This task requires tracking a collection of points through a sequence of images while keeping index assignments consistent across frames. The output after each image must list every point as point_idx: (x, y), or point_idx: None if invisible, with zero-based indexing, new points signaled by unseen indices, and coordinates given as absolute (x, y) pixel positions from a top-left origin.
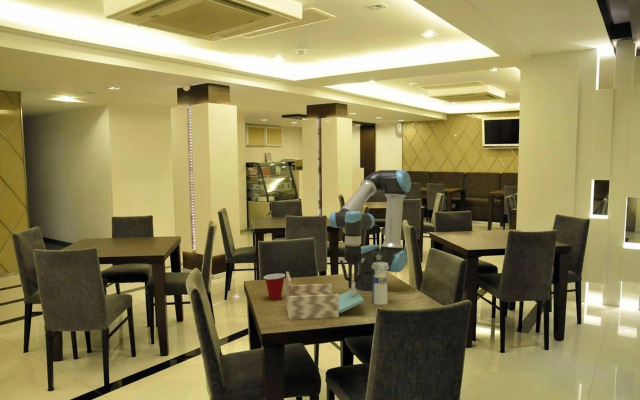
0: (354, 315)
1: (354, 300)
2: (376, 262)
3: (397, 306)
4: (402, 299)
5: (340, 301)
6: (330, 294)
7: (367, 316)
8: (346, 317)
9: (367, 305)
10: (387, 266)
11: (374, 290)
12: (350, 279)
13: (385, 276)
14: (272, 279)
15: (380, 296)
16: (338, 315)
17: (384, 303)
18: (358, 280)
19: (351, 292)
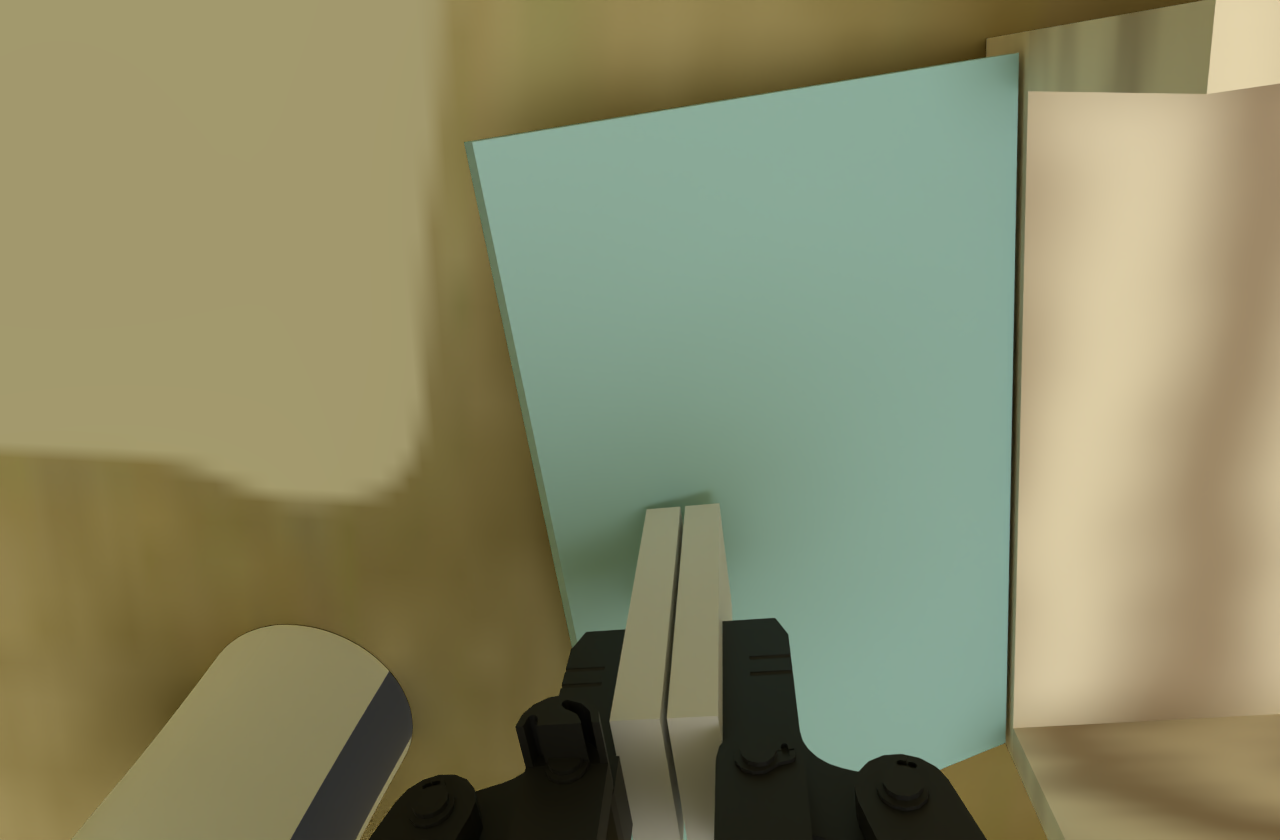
0: None
1: (677, 281)
2: None
3: (67, 543)
4: (44, 792)
5: (918, 507)
6: (1067, 783)
7: (478, 77)
8: (846, 20)
9: (472, 606)
10: None
11: (291, 819)
12: (761, 784)
13: None
14: None
15: (237, 709)
16: (1000, 38)
17: (238, 641)
18: (499, 784)
19: (721, 558)
